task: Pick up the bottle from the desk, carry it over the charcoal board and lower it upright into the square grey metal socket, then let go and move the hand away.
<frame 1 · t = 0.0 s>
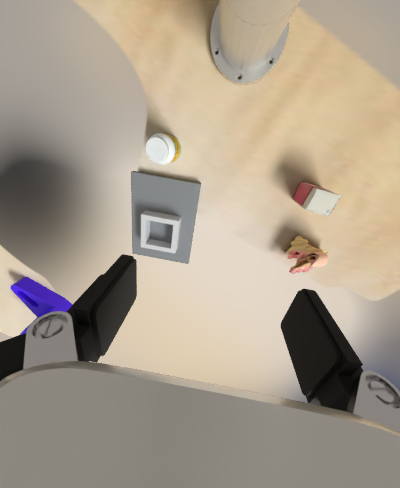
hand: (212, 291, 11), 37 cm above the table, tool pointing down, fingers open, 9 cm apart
small box: (306, 193, 43), on the table
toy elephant: (302, 249, 49), on the table
supplement bottle: (169, 148, 41), on the table
bracket: (46, 294, 68), on the table
socket holder: (164, 220, 49), on the table
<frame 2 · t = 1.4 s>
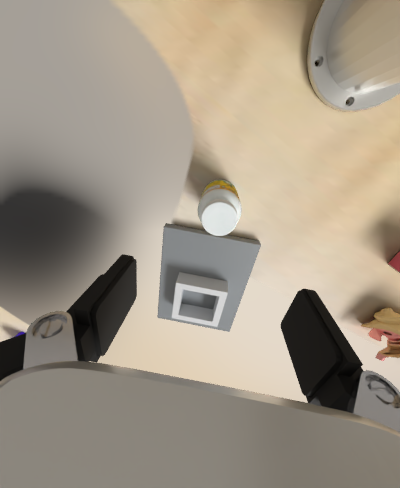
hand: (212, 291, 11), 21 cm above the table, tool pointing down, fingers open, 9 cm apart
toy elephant: (385, 320, 37), on the table
supplement bottle: (219, 196, 29), on the table
socket holder: (202, 281, 37), on the table
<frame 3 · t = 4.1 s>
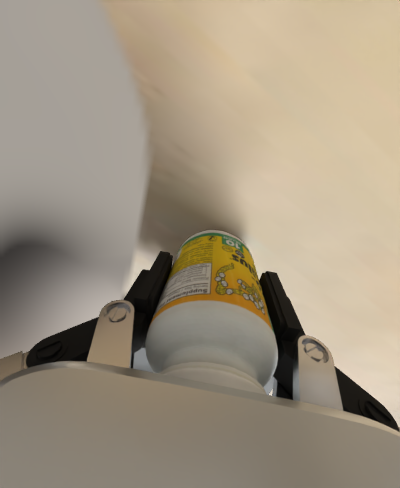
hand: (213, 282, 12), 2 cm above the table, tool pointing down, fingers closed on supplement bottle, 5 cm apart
supplement bottle: (214, 260, 14), on the table, touching gripper
socket holder: (186, 382, 22), on the table
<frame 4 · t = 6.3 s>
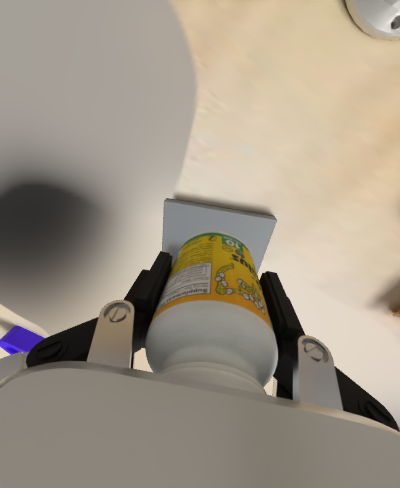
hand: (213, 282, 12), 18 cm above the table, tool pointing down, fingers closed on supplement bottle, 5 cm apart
supplement bottle: (214, 260, 14), point 15 cm above the table, touching gripper
bracket: (44, 344, 53), on the table
socket holder: (208, 266, 33), on the table
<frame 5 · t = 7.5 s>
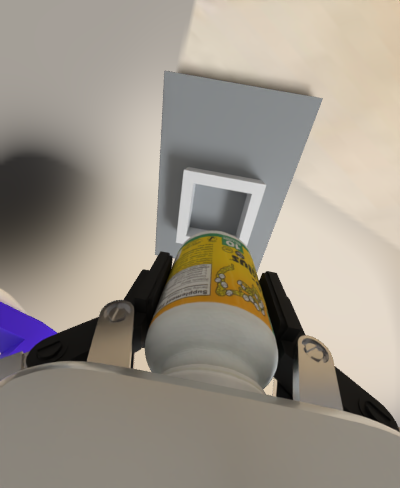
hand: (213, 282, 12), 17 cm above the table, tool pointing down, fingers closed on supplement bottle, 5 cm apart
supplement bottle: (214, 260, 14), point 14 cm above the table, touching gripper
bracket: (14, 317, 44), on the table
socket holder: (220, 191, 25), on the table
when the fingers open (6 cm above the table, at t = 10.1 s): supplement bottle drops 2 cm, resting on socket holder.
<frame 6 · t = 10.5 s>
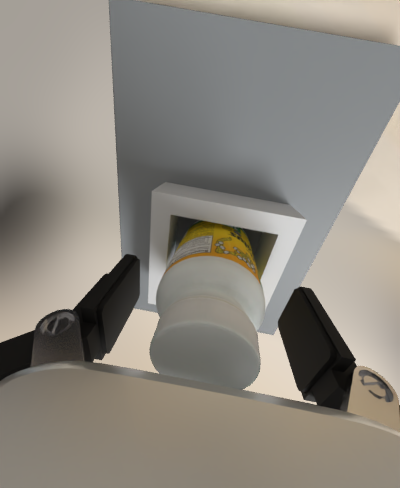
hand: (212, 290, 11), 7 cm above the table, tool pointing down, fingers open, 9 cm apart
supplement bottle: (216, 245, 15), point 1 cm above the table, touching socket holder
socket holder: (220, 218, 16), on the table
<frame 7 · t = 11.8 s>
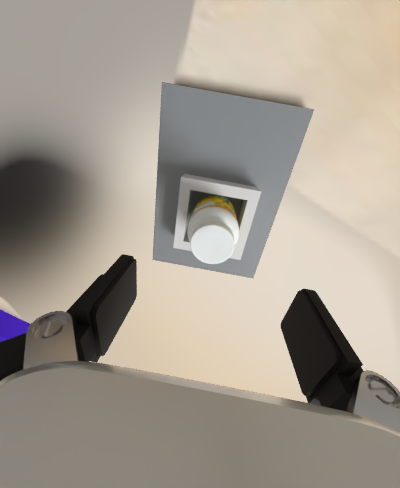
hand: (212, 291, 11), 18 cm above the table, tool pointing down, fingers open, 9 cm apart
supplement bottle: (214, 213, 25), point 1 cm above the table, touching socket holder
bracket: (9, 323, 43), on the table
socket holder: (216, 197, 26), on the table
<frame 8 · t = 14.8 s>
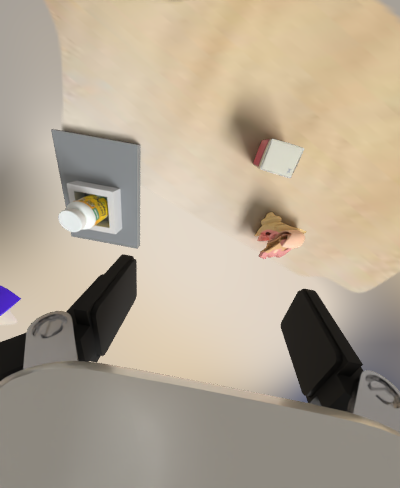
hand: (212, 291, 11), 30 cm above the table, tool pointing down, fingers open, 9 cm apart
small box: (269, 156, 34), on the table
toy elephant: (276, 230, 41), on the table
supplement bottle: (101, 204, 40), point 1 cm above the table, touching socket holder
socket holder: (103, 195, 41), on the table
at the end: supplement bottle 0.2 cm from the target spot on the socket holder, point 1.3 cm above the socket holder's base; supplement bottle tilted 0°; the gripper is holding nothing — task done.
